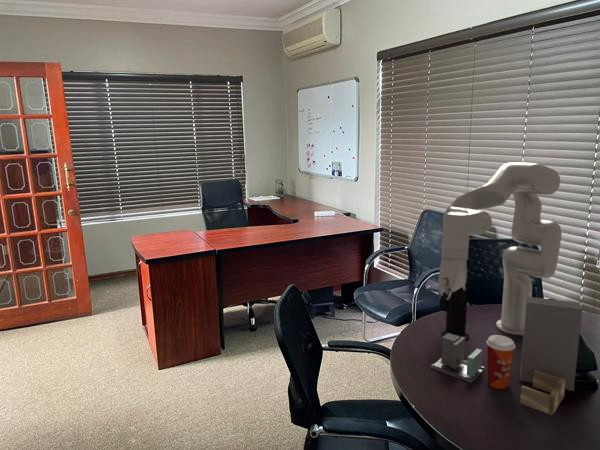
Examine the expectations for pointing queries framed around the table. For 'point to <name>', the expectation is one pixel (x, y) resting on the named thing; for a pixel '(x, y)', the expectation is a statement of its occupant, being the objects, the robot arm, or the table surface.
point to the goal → (541, 399)
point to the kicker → (459, 354)
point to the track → (456, 371)
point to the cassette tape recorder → (551, 339)
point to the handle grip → (457, 316)
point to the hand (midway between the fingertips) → (452, 306)
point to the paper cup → (499, 360)
